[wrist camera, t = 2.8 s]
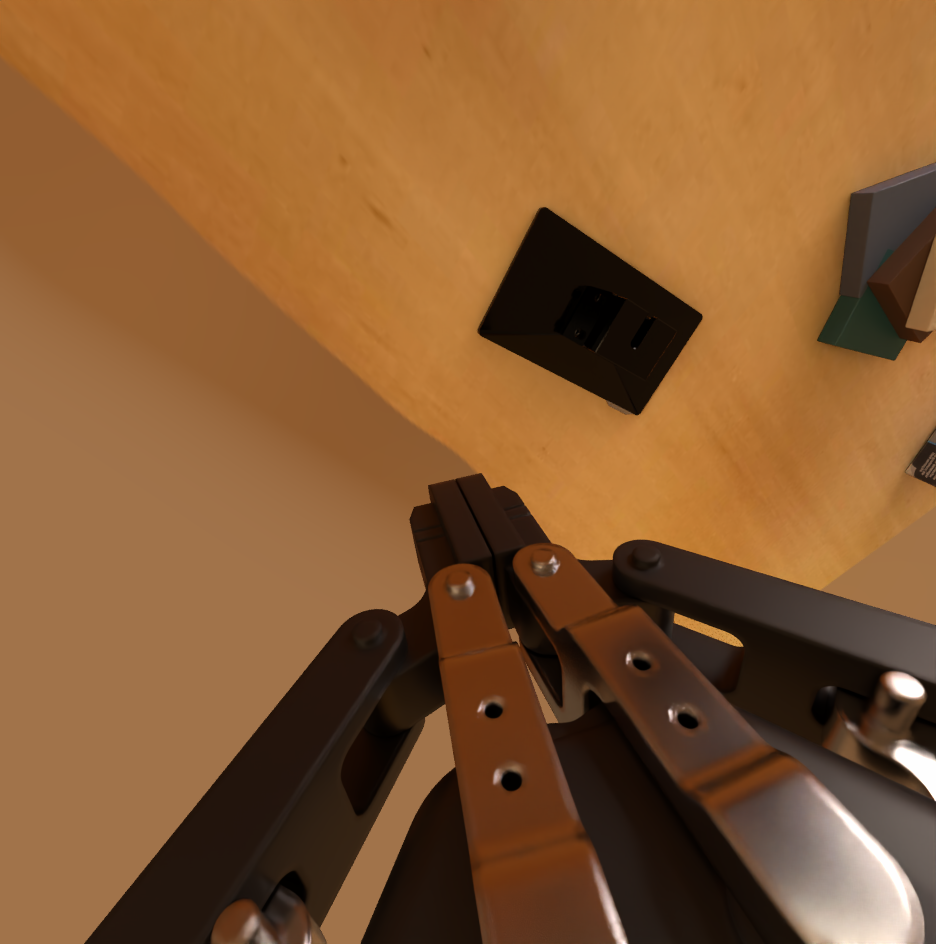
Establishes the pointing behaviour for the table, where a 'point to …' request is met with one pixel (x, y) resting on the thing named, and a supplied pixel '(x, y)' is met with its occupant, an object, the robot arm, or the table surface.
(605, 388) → the build plate
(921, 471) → the tape cartridge
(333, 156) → the table surface
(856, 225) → the letter tile pile
